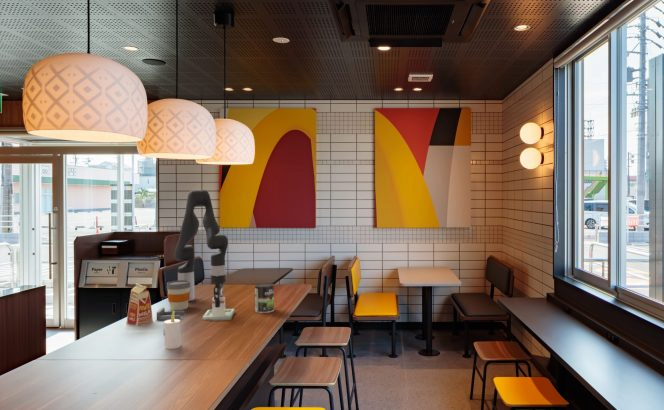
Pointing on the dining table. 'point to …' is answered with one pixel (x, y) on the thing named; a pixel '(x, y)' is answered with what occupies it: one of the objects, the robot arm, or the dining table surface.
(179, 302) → the reusable coffee cup
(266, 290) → the coffee can
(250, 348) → the dining table surface
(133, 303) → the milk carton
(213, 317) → the tray
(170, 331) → the candle
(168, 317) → the grey holder
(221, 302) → the white banded brick
